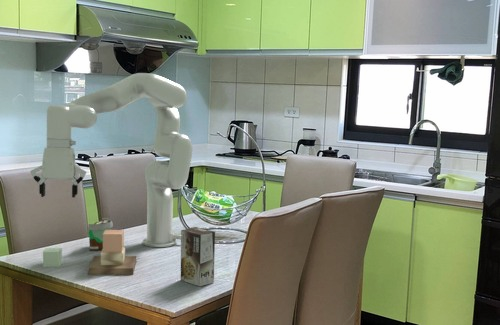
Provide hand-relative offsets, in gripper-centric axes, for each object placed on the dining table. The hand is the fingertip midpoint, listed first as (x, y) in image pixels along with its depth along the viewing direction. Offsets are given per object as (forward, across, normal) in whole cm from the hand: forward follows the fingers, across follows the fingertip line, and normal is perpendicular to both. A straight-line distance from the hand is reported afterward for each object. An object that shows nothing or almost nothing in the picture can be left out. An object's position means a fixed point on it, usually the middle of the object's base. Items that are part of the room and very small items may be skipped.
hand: (58, 196), depth 196 cm
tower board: (+23, -18, +4) cm, 29 cm away
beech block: (+21, -18, +4) cm, 28 cm away
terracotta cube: (+17, -18, +4) cm, 25 cm away
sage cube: (+23, +2, -1) cm, 23 cm away
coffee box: (+23, -45, +18) cm, 53 cm away
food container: (+23, -12, -21) cm, 33 cm away
